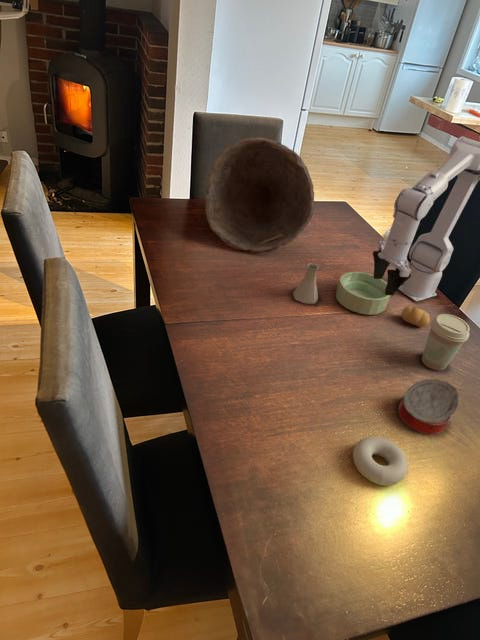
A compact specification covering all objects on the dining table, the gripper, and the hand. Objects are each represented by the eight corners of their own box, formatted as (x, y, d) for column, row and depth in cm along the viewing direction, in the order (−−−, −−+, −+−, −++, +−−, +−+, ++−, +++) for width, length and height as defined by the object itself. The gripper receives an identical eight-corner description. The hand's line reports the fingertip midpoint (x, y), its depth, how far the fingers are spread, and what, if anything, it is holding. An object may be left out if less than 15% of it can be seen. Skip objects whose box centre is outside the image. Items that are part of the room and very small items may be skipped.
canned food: (435, 446, 99) (459, 436, 90) (389, 428, 100) (408, 417, 91) (444, 397, 104) (467, 383, 95) (400, 381, 105) (419, 365, 96)
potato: (397, 321, 127) (402, 307, 124) (401, 313, 130) (407, 300, 128) (424, 332, 124) (430, 319, 122) (428, 324, 128) (434, 311, 125)
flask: (317, 307, 128) (325, 275, 122) (291, 301, 128) (298, 269, 123) (318, 293, 134) (327, 262, 128) (293, 287, 134) (301, 257, 128)
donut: (393, 444, 92) (344, 443, 90) (399, 433, 90) (349, 431, 88) (412, 490, 84) (359, 489, 82) (419, 478, 82) (365, 477, 80)
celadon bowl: (361, 284, 141) (366, 268, 138) (395, 309, 132) (402, 293, 128) (325, 293, 134) (329, 276, 131) (358, 321, 125) (364, 304, 122)
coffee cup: (408, 354, 116) (426, 315, 109) (434, 348, 119) (453, 310, 112) (432, 377, 110) (452, 337, 103) (459, 371, 113) (480, 331, 106)
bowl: (280, 133, 166) (273, 111, 137) (331, 217, 168) (335, 213, 139) (201, 187, 174) (178, 178, 144) (251, 268, 176) (238, 274, 147)
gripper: (373, 224, 118) (358, 271, 126) (397, 253, 107) (379, 302, 115) (399, 226, 120) (383, 271, 128) (425, 254, 109) (406, 302, 117)
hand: (383, 286), depth 122 cm, fingers open, 7 cm apart
